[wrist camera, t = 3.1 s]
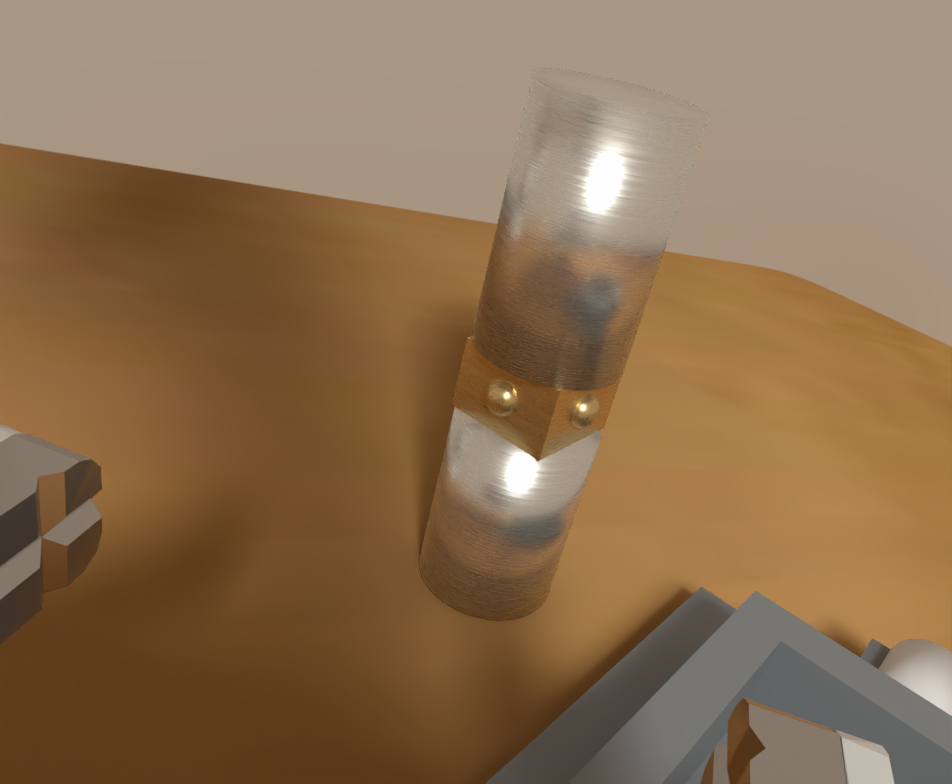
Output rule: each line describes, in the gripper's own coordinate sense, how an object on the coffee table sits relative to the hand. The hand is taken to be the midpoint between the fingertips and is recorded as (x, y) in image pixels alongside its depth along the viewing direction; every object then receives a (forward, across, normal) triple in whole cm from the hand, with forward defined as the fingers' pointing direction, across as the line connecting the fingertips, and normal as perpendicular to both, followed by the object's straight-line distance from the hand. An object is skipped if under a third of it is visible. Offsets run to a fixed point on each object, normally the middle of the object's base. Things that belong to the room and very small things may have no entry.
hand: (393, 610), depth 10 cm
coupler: (+12, 0, +9) cm, 15 cm away
